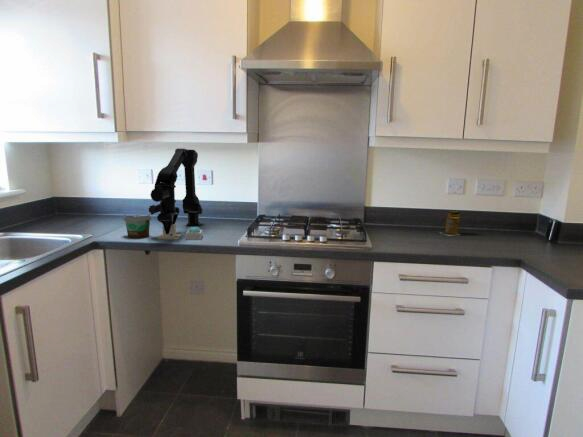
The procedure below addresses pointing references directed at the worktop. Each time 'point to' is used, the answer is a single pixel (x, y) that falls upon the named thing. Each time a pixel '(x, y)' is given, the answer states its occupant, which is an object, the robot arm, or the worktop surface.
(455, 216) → the condiment
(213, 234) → the worktop surface
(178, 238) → the birch tile
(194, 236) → the dome base
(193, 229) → the dome button
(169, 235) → the die
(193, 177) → the robot arm
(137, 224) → the food container
